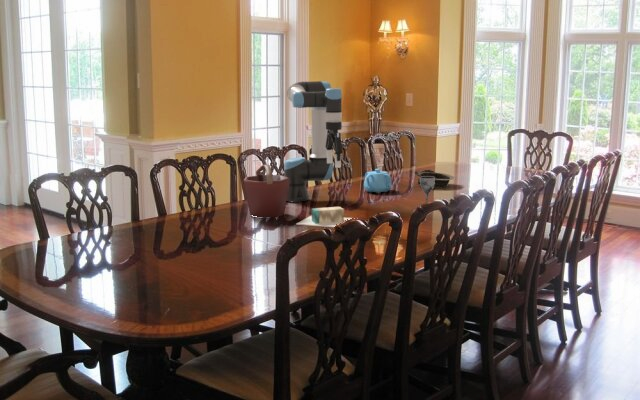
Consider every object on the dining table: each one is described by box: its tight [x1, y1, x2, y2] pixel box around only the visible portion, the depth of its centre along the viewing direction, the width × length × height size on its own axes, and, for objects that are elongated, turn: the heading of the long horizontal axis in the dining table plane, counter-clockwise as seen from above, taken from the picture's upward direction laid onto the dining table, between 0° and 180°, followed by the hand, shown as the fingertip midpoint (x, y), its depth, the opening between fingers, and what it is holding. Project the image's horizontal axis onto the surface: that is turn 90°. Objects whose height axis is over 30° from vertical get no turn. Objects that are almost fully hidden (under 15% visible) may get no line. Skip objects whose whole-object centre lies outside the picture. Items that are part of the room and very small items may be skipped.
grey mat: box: [295, 214, 359, 228], centre depth 324 cm, size 24×20×1 cm
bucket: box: [243, 164, 290, 218], centre depth 339 cm, size 24×22×25 cm
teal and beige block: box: [311, 206, 345, 224], centre depth 323 cm, size 6×6×14 cm
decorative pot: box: [363, 168, 393, 195], centre depth 401 cm, size 16×16×14 cm
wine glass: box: [419, 176, 435, 203], centre depth 360 cm, size 8×8×15 cm
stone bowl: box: [414, 169, 456, 189], centre depth 418 cm, size 25×25×9 cm
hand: (333, 165), depth 329 cm, fingers open, 13 cm apart
